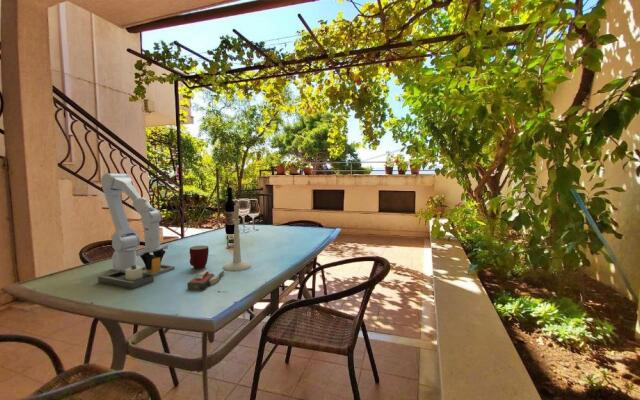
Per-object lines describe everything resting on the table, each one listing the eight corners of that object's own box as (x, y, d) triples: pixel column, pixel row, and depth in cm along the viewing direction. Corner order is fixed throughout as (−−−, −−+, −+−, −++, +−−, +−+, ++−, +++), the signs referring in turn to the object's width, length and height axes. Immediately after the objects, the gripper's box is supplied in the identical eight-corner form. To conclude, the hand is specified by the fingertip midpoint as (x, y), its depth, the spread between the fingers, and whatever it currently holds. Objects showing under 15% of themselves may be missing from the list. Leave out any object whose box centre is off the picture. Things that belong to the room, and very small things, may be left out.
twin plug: (125, 284, 116) (125, 266, 116) (135, 281, 120) (134, 263, 119) (133, 286, 115) (132, 267, 114) (142, 282, 118) (142, 264, 118)
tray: (131, 274, 129) (130, 270, 129) (155, 267, 140) (155, 263, 140) (151, 278, 125) (151, 274, 125) (174, 270, 136) (174, 266, 136)
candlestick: (256, 265, 145) (255, 203, 143) (238, 272, 133) (237, 205, 131) (236, 261, 150) (235, 202, 148) (217, 268, 139) (215, 204, 137)
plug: (146, 271, 131) (145, 255, 131) (154, 269, 135) (153, 253, 135) (152, 273, 130) (152, 256, 129) (160, 270, 134) (160, 254, 133)
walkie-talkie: (207, 292, 112) (226, 274, 132) (207, 280, 111) (225, 264, 131) (184, 291, 112) (206, 274, 132) (184, 280, 112) (206, 264, 131)
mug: (201, 273, 132) (201, 251, 131) (184, 272, 133) (183, 250, 132) (211, 266, 143) (211, 245, 142) (195, 265, 143) (194, 245, 142)
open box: (98, 283, 118) (98, 276, 118) (120, 276, 126) (120, 269, 126) (132, 290, 111) (132, 282, 111) (153, 282, 120) (153, 275, 119)
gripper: (143, 241, 123) (145, 274, 124) (172, 235, 137) (173, 264, 138) (131, 240, 126) (133, 272, 127) (161, 234, 139) (162, 263, 140)
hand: (153, 268), depth 132 cm, fingers closed on plug, 4 cm apart
